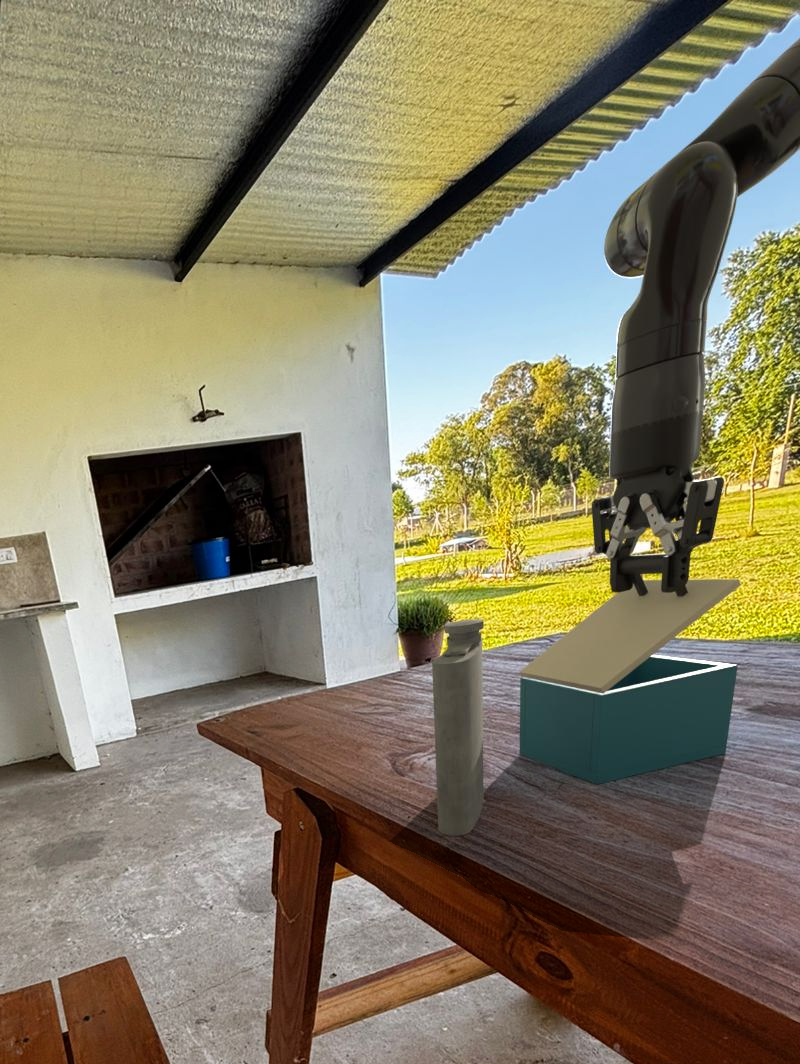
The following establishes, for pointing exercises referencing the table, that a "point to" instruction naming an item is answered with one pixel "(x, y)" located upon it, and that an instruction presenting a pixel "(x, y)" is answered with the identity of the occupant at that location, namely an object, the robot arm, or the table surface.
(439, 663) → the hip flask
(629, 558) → the lid
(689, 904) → the table surface
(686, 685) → the box
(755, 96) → the robot arm
